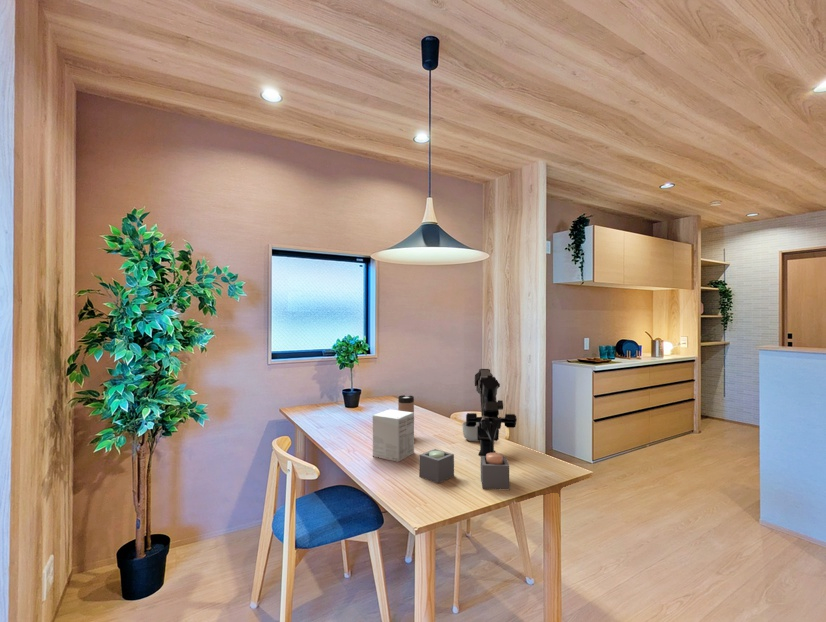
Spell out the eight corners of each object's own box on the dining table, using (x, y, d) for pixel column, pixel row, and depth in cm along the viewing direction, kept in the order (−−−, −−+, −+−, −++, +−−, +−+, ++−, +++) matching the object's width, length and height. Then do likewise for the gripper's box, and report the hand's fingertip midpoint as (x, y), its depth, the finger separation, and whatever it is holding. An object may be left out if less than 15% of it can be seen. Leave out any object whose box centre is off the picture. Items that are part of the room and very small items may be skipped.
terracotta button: (485, 460, 146) (485, 452, 146) (501, 461, 145) (501, 452, 145) (487, 466, 140) (486, 457, 140) (503, 467, 140) (503, 458, 140)
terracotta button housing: (480, 478, 148) (480, 456, 148) (506, 479, 147) (505, 456, 147) (482, 488, 139) (482, 465, 139) (509, 489, 138) (509, 466, 138)
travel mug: (404, 441, 192) (404, 398, 192) (395, 437, 198) (395, 396, 198) (417, 438, 196) (417, 396, 196) (408, 434, 202) (407, 394, 203)
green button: (435, 457, 154) (435, 449, 154) (447, 461, 150) (447, 453, 150) (425, 461, 150) (425, 453, 150) (437, 465, 146) (437, 456, 146)
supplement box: (415, 452, 176) (414, 412, 176) (398, 462, 164) (398, 418, 165) (389, 448, 183) (389, 408, 183) (371, 456, 171) (371, 414, 171)
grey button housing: (435, 469, 156) (435, 448, 156) (454, 476, 150) (453, 454, 150) (419, 476, 150) (419, 454, 150) (438, 483, 143) (438, 460, 143)
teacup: (480, 444, 187) (480, 427, 187) (458, 441, 192) (458, 424, 192) (490, 436, 199) (490, 420, 199) (469, 433, 204) (469, 417, 204)
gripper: (466, 392, 156) (467, 428, 145) (515, 392, 154) (520, 430, 143) (465, 408, 164) (466, 444, 153) (512, 409, 162) (517, 445, 151)
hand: (492, 440), depth 150 cm, fingers closed
